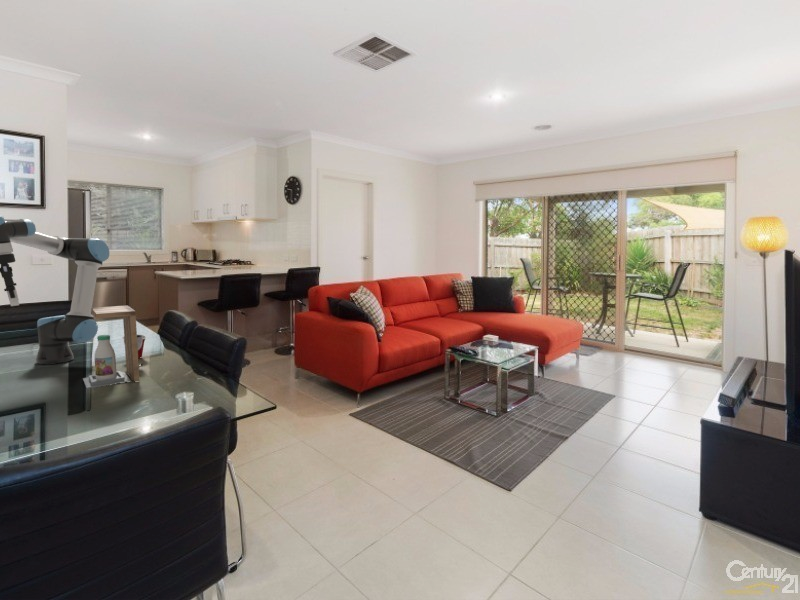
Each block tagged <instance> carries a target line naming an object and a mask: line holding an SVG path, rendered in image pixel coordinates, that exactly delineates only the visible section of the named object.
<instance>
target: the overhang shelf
mask: <svg viewBox="0 0 800 600" xmlns="http://www.w3.org/2000/svg"><path fill="white" fill-rule="evenodd" d="M91 314H92V315H93V316H94V318H96V319H106V318H107V319H108V318H121V317H122V322H123V337H124V339H123V341H124V340H125V344H124V351H125V353H124V354H125V368H126V369H125V370H126V372H125V373H126V374H127V375H128V374H129V375H130V376H129V375H128V376H129V377H130V379H131V378H132V379H133V380H134V381H140V369H139V368H140V366H139V364H140V363H139V359H138V346H137V335H138V333H137V332H138V331H137V313H136V310H134V308H131V306H129V305H116V306H101V307H99V306H98V307H92V308H91ZM132 379H131V380H132ZM133 380H132V381H133ZM134 381H133V382H134Z"/></svg>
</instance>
